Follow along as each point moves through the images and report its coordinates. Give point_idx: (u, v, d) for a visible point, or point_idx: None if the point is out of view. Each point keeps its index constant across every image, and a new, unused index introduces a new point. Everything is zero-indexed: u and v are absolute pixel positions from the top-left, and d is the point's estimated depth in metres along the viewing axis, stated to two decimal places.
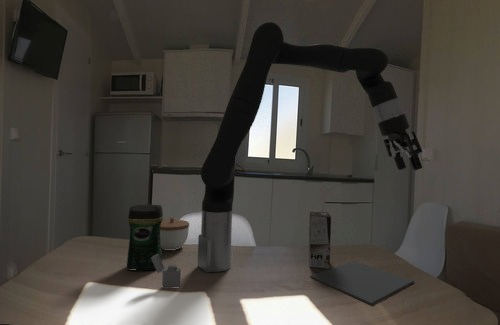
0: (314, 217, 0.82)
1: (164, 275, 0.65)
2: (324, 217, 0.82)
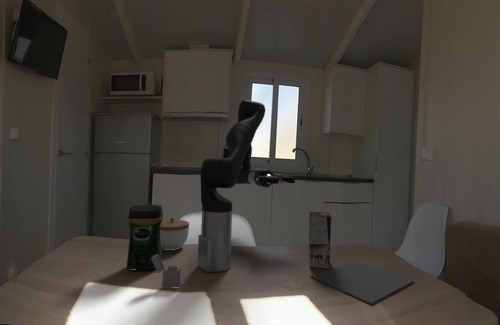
0: (314, 217, 0.82)
1: (164, 275, 0.65)
2: (324, 217, 0.82)
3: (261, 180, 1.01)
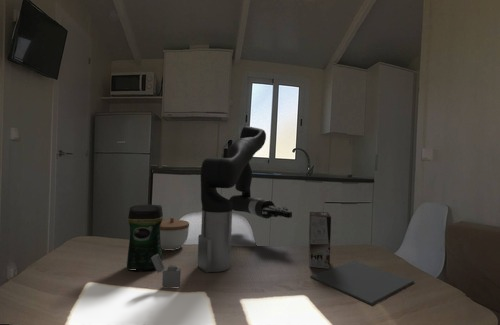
0: (314, 217, 0.82)
1: (164, 275, 0.65)
2: (324, 217, 0.82)
3: (271, 213, 1.00)
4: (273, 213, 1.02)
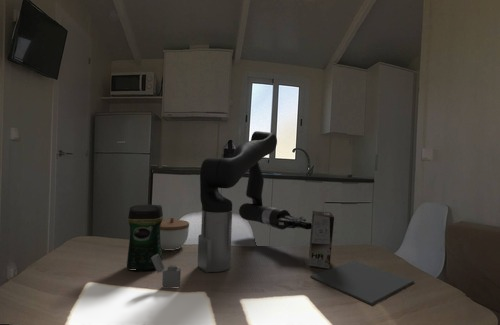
0: (317, 216, 0.82)
1: (164, 275, 0.65)
2: (327, 217, 0.81)
3: (288, 224, 0.92)
4: (290, 224, 0.94)
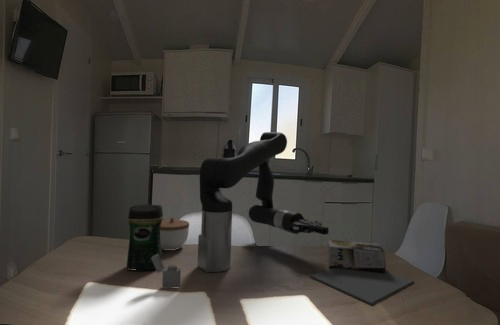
0: (383, 255, 0.77)
1: (164, 275, 0.65)
2: (384, 265, 0.77)
3: (303, 229, 0.87)
4: (305, 228, 0.88)
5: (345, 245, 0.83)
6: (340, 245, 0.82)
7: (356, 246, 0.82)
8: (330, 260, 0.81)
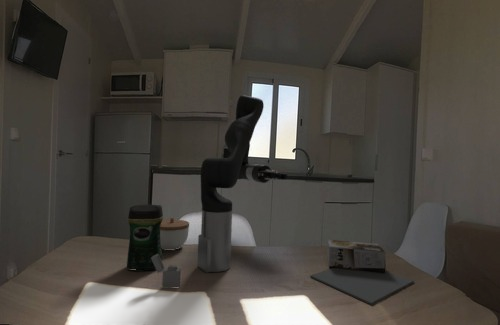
0: (383, 255, 0.77)
1: (164, 275, 0.65)
2: (384, 266, 0.77)
3: (267, 175, 1.02)
4: (269, 176, 1.04)
5: (345, 245, 0.82)
6: (340, 245, 0.82)
7: (356, 246, 0.82)
8: (330, 260, 0.81)
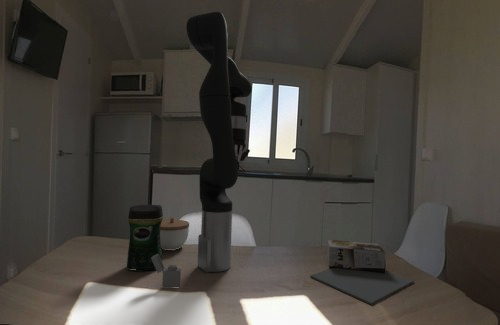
0: (383, 255, 0.77)
1: (164, 275, 0.65)
2: (384, 266, 0.77)
3: None
4: None
5: (345, 245, 0.82)
6: (340, 245, 0.82)
7: (356, 246, 0.82)
8: (330, 260, 0.81)
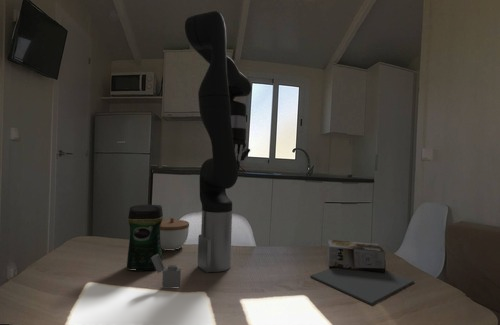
0: (383, 255, 0.77)
1: (164, 275, 0.65)
2: (384, 266, 0.77)
3: None
4: None
5: (345, 245, 0.82)
6: (340, 245, 0.82)
7: (356, 246, 0.82)
8: (330, 260, 0.81)
